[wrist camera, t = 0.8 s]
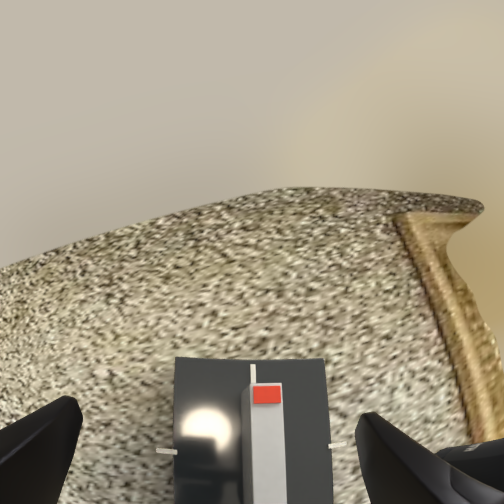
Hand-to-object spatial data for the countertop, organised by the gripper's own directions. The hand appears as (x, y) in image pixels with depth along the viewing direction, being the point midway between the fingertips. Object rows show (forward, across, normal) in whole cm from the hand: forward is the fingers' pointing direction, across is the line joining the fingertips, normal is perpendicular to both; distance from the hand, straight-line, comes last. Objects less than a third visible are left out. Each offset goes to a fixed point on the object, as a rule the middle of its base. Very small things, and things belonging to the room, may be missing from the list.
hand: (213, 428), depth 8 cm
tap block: (+8, -2, +12) cm, 15 cm away
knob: (+6, -2, +10) cm, 12 cm away
